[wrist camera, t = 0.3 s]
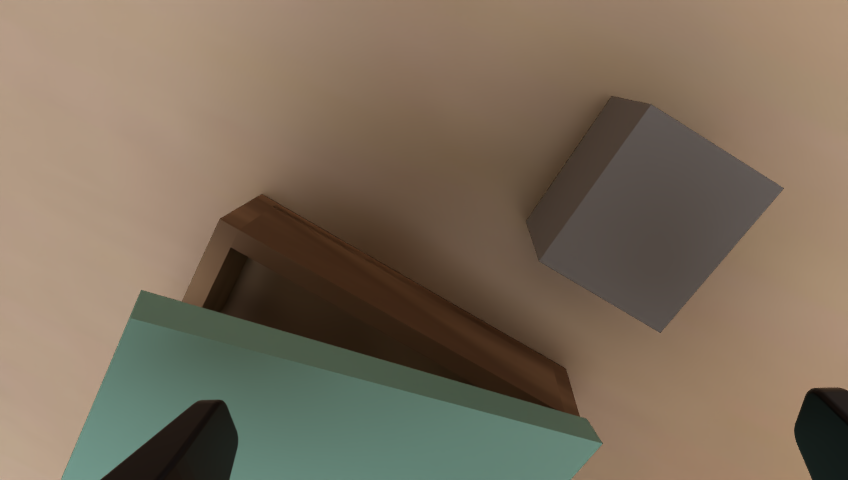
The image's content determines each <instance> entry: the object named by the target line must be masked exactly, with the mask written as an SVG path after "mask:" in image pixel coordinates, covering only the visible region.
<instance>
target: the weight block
mask: <svg viewBox="0 0 848 480" xmlns="http://www.w3.org/2000/svg"><path fill="white" fill-rule="evenodd" d="M783 189H784V188H783V187H781V186H780V185H778V184H776V183H775V182H773V181H772V180H770V179H768V178H767V177H765V176H764V175H762V174H761V173H759V172H757V171H756V170H754V169H753V168H751V167H749V166H748V165H746V164H745V163H743V162H742V161H740V160H738V159H737V158H735V157H734V156H732V155H731V154H729V153H727V152H726V151H724V150H723V149H721V148H719V147H718V146H716V145H715V144H713V143H712V142H710V141H708V140H707V139H705V138H704V137H702V136H700V135H699V134H697V133H696V132H694V131H693V130H691V129H689V128H688V127H686V126H685V125H683V124H681V123H680V122H678V121H677V120H675V119H674V118H672V117H670V116H669V115H667V114H666V113H664V112H662V111H661V110H659V109H658V108H656V107H655V106H653V105H651V104H647V103H642V102H637V101H633V100H628V99H623V98H618V97H613V96H611V98H610V99H609V101H608V102H607V104H606V105H605V107H604V108H603V110H602V111H601V113H600V114H599V115H598V117H597V118H596V120H595V121H594V123H593V124H592V126H591V127H590V129H589V130H588V131H587V133H586V134H585V136H584V137H583V139H582V140H581V142H580V143H579V145H578V146H577V148H576V149H575V150H574V152H573V153H572V155H571V156H570V158H569V159H568V161H567V162H566V164H565V165H564V167H563V168H562V169H561V171H560V172H559V174H558V175H557V177H556V178H555V180H554V181H553V183H552V184H551V185H550V187H549V188H548V190H547V191H546V193H545V194H544V196H543V197H542V199H541V200H540V202H539V203H538V204H537V206H536V207H535V209H534V210H533V212H532V213H531V215H530V216H529V218H528V219H527V220H526V223H527V226H528V229H529V232H530V235H531V238H532V241H533V244H534V247H535V251H536V254H537V257H538V260H539V262H541V263H543V264H545V265H546V266H548V267H550V268H551V269H553V270H555V271H556V272H558V273H560V274H561V275H563V276H565V277H567V278H568V279H570V280H572V281H573V282H575V283H577V284H578V285H580V286H582V287H583V288H585V289H587V290H589V291H590V292H592V293H594V294H595V295H597V296H599V297H600V298H602V299H604V300H605V301H607V302H609V303H611V304H612V305H614V306H616V307H617V308H619V309H621V310H622V311H624V312H626V313H627V314H629V315H631V316H633V317H634V318H636V319H638V320H639V321H641V322H643V323H644V324H646V325H648V326H649V327H651V328H653V329H655V330H656V331H658V332H660V333H661V332H662V330H663V329H664V328H665V327H666V326H667V325H668V323H669V322H670V321H671V320H672V319H673V318H674V316H675V315H676V314H677V313H678V312H679V311H680V309H681V308H682V307H683V306H684V305H685V304H686V302H687V301H688V300H689V299H690V298H691V297H692V295H693V294H694V293H695V292H696V291H697V289H698V288H699V287H700V286H701V285H702V284H703V282H704V281H705V280H706V279H707V278H708V277H709V275H710V274H711V273H712V272H713V271H714V270H715V268H716V267H717V266H718V265H719V264H720V263H721V261H722V260H723V259H724V258H725V257H726V256H727V254H728V253H729V252H730V251H731V250H732V249H733V247H734V246H735V245H736V244H737V243H738V241H739V240H740V239H741V238H742V237H743V236H744V234H745V233H746V232H747V231H748V230H749V229H750V227H751V226H752V225H753V224H754V223H755V222H756V220H757V219H758V218H759V217H760V216H761V215H762V213H763V212H764V211H765V210H766V209H767V208H768V206H769V205H770V204H771V203H772V202H773V201H774V199H775V198H776V197H777V196H778V195H779V194H780V192H781V191H782V190H783Z"/></svg>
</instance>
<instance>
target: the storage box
mask: <svg viewBox="0 0 848 480" xmlns="http://www.w3.org/2000/svg"><path fill="white" fill-rule="evenodd" d="M182 302H184V303H188V304H191V305H195V306H198V307H202V308H205V309H209V310H212V311H216V312H219V313H222V314H226V315H229V316H233V317H236V318H240V319H243V320H247V321H250V322H254V323H257V324H260V325H264V326H267V327H271V328H274V329H278V330H281V331H285V332H288V333H292V334H295V335H299V336H302V337H305V338H309V339H312V340H316V341H319V342H323V343H326V344H330V345H333V346H337V347H340V348H343V349H347V350H350V351H354V352H357V353H361V354H364V355H368V356H371V357H375V358H378V359H382V360H385V361H388V362H392V363H395V364H399V365H402V366H406V367H409V368H413V369H416V370H420V371H423V372H426V373H430V374H433V375H437V376H440V377H444V378H447V379H451V380H454V381H458V382H461V383H465V384H468V385H471V386H475V387H478V388H482V389H485V390H489V391H492V392H496V393H499V394H503V395H506V396H509V397H513V398H516V399H520V400H523V401H527V402H530V403H534V404H537V405H541V406H544V407H548V408H551V409H554V410H558V411H561V412H565V413H568V414H572V415H575V416H579V417H580V415H579V412H578V409H577V405H576V402H575V398H574V395H573V392H572V388H571V385H570V382H569V378H568V375H567V371H566V369H565V368H563V367H562V366H560V365H558V364H556V363H555V362H553V361H551V360H549V359H548V358H546V357H544V356H542V355H541V354H539V353H537V352H535V351H534V350H532V349H530V348H529V347H527V346H525V345H523V344H522V343H520V342H518V341H516V340H515V339H513V338H511V337H509V336H508V335H506V334H504V333H502V332H501V331H499V330H497V329H495V328H494V327H492V326H490V325H488V324H487V323H485V322H483V321H482V320H480V319H478V318H476V317H475V316H473V315H471V314H469V313H468V312H466V311H464V310H462V309H461V308H459V307H457V306H455V305H454V304H452V303H450V302H448V301H447V300H445V299H443V298H441V297H440V296H438V295H436V294H435V293H433V292H431V291H429V290H428V289H426V288H424V287H422V286H421V285H419V284H417V283H415V282H414V281H412V280H410V279H408V278H407V277H405V276H403V275H401V274H400V273H398V272H396V271H394V270H393V269H391V268H389V267H388V266H386V265H384V264H382V263H381V262H379V261H377V260H375V259H374V258H372V257H370V256H368V255H367V254H365V253H363V252H361V251H360V250H358V249H356V248H354V247H353V246H351V245H349V244H347V243H346V242H344V241H342V240H341V239H339V238H337V237H335V236H334V235H332V234H330V233H328V232H327V231H325V230H323V229H321V228H320V227H318V226H316V225H314V224H313V223H311V222H309V221H307V220H306V219H304V218H302V217H300V216H299V215H297V214H295V213H294V212H292V211H290V210H288V209H287V208H285V207H283V206H281V205H280V204H278V203H276V202H274V201H273V200H271V199H269V198H267V197H266V196H264V195H262V194H261V195H260V196H258V197H256V198H254V199H253V200H251V201H249V202H248V203H246V204H244V205H243V206H241V207H239V208H237V209H236V210H234V211H232V212H231V213H229V214H227V215H226V216H224V217H222V218H220V219H219V222H218V224H217V226H216V228H215V230H214V233H213V235H212V237H211V239H210V241H209V243H208V246H207V248H206V250H205V252H204V254H203V257H202V259H201V261H200V263H199V265H198V267H197V270H196V272H195V274H194V276H193V278H192V280H191V283H190V285H189V287H188V289H187V291H186V294H185V296H184V298H183V300H182Z"/></svg>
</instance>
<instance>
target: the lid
mask: <svg viewBox="0 0 848 480" xmlns="http://www.w3.org/2000/svg"><path fill="white" fill-rule="evenodd" d="M218 399H219V400H223V401H224V402H225V403H226V405H227V407H228V409H229V412H230V415H231V417H232V420H233V422H234V425H235V427H236V430H237V433H238V448H237V452H236V456H235V460H234V464H233V468H232V472H231V476H230V480H571V479H572V478H573V476H574V475H575V474H576V473H577V472H578V471H579V470H580V469H581V467H582V466H583V465H584V464H585V463H586V462H587V461H588V459H589V458H590V457H591V456H592V455H593V454H594V453H595V452H596V450H597V449H598V448H599V447H600V446H601V445H602V444H603V443H602V442H601V440H600V439H599V437H598V435H597V434H596V432H595V431H594V429H593V428H592V426H591V425H590V423H589V422H588V420H587V419H586V418H582V417H579V416H575V415H572V414H568V413H565V412H561V411H558V410H554V409H551V408H548V407H544V406H541V405H537V404H534V403H530V402H527V401H523V400H520V399H516V398H513V397H509V396H506V395H503V394H499V393H496V392H492V391H489V390H485V389H482V388H478V387H475V386H471V385H468V384H465V383H461V382H458V381H454V380H451V379H447V378H444V377H440V376H437V375H433V374H430V373H426V372H423V371H420V370H416V369H413V368H409V367H406V366H402V365H399V364H395V363H392V362H388V361H385V360H382V359H378V358H375V357H371V356H368V355H364V354H361V353H357V352H354V351H350V350H347V349H343V348H340V347H337V346H333V345H330V344H326V343H323V342H319V341H316V340H312V339H309V338H305V337H302V336H299V335H295V334H292V333H288V332H285V331H281V330H278V329H274V328H271V327H267V326H264V325H260V324H257V323H254V322H250V321H247V320H243V319H240V318H236V317H233V316H229V315H226V314H222V313H219V312H216V311H212V310H209V309H205V308H202V307H198V306H195V305H191V304H188V303H184V302H181V301H177V300H174V299H171V298H167V297H164V296H160V295H157V294H153V293H150V292H146V291H143V290H141V292H140V294H139V296H138V299H137V301H136V304H135V306H134V308H133V311H132V313H131V315H130V318H129V320H128V322H127V325H126V327H125V329H124V332H123V334H122V337H121V339H120V341H119V344H118V346H117V348H116V351H115V353H114V355H113V358H112V360H111V363H110V365H109V367H108V370H107V372H106V374H105V377H104V379H103V381H102V384H101V386H100V389H99V391H98V393H97V396H96V398H95V400H94V403H93V405H92V407H91V410H90V412H89V415H88V417H87V419H86V422H85V424H84V426H83V429H82V431H81V433H80V436H79V438H78V441H77V443H76V445H75V448H74V450H73V452H72V455H71V457H70V459H69V462H68V464H67V467H66V469H65V471H64V474H63V476H62V478H61V480H100V479H102V478H103V477H104V476H105V475H106V474H108V473H109V472H110V471H111V470H113V469H114V468H115V467H116V466H118V465H119V464H120V463H121V462H122V461H124V460H125V459H126V458H127V457H129V456H130V455H131V454H132V453H133V452H135V451H136V450H137V449H138V448H140V447H141V446H142V445H143V444H145V443H146V442H147V441H148V440H149V439H151V438H152V437H153V436H154V435H156V434H157V433H158V432H159V431H160V430H162V429H163V428H164V427H165V426H167V425H168V424H169V423H170V422H171V421H173V420H174V419H175V418H176V417H178V416H179V415H180V414H181V413H183V412H184V411H185V410H186V409H187V408H189V407H190V406H191V405H192V404H194V403H195V402H197V401H199V400H218Z"/></svg>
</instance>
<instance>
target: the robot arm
mask: <svg viewBox="0 0 848 480" xmlns="http://www.w3.org/2000/svg"><path fill="white" fill-rule="evenodd" d="M794 433H795V439H796V442H797V445H798V447H799V450H800V452H801V454H802V457H803V459H804V461H805V464H806V466H807V469H808V471H809V473H810V476H811V478H812V480H848V391H847V390H845V389H843V388H813V389H811V390H809V391H808V392H807V394H806V396H805V398H804V401H803V404H802V407H801V409H800V412H799V415H798V418H797V420H796V423H795V428H794ZM237 448H238V433H237V430H236V427H235V425H234V422H233V420H232V417H231V415H230V412H229V409H228V407H227V405H226V403H225V402H224V401H223V400H219V399H218V400H199V401H197V402H195V403H194V404H192V405H191V406H190V407H189V408H187V409H186V410H185V411H184V412H183V413H181V414H180V415H179V416H178V417H176V418H175V419H174V420H173V421H171V422H170V423H169V424H168V425H167V426H165V427H164V428H163V429H162V430H160V431H159V432H158V433H157V434H156V435H154V436H153V437H152V438H151V439H149V440H148V441H147V442H146V443H145V444H143V445H142V446H141V447H140V448H138V449H137V450H136V451H135V452H133V453H132V454H131V455H130V456H129V457H127V458H126V459H125V460H124V461H122V462H121V463H120V464H119V465H118V466H116V467H115V468H114V469H113V470H111V471H110V472H109V473H108V474H106V475H105V476H104V477H103V478H102V479H100V480H230V476H231V472H232V468H233V464H234V460H235V456H236V452H237Z"/></svg>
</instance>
